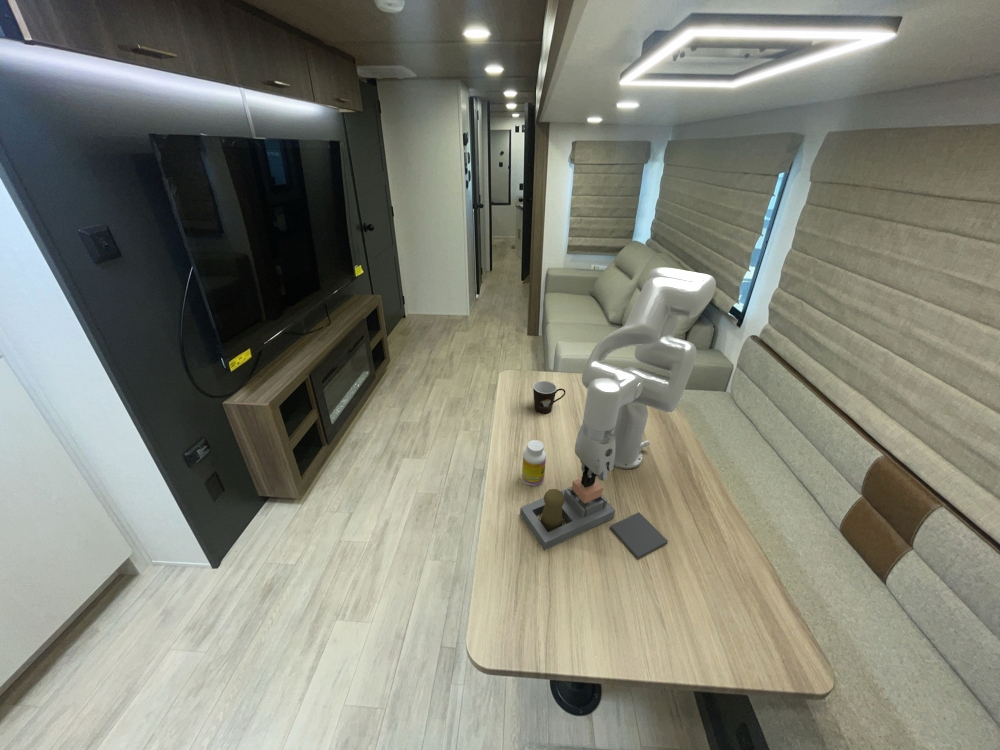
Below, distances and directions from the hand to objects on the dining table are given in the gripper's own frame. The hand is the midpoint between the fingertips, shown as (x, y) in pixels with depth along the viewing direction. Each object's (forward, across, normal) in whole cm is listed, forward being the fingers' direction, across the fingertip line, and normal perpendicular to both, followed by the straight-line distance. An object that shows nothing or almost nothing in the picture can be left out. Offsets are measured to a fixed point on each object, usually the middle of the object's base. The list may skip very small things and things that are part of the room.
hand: (587, 483), depth 103 cm
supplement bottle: (+10, +16, +6) cm, 20 cm away
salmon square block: (+3, 0, 0) cm, 3 cm away
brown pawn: (+10, 0, +10) cm, 14 cm away
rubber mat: (+10, -13, -8) cm, 18 cm away
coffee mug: (+10, +44, -17) cm, 48 cm away
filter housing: (+10, 0, +5) cm, 11 cm away
